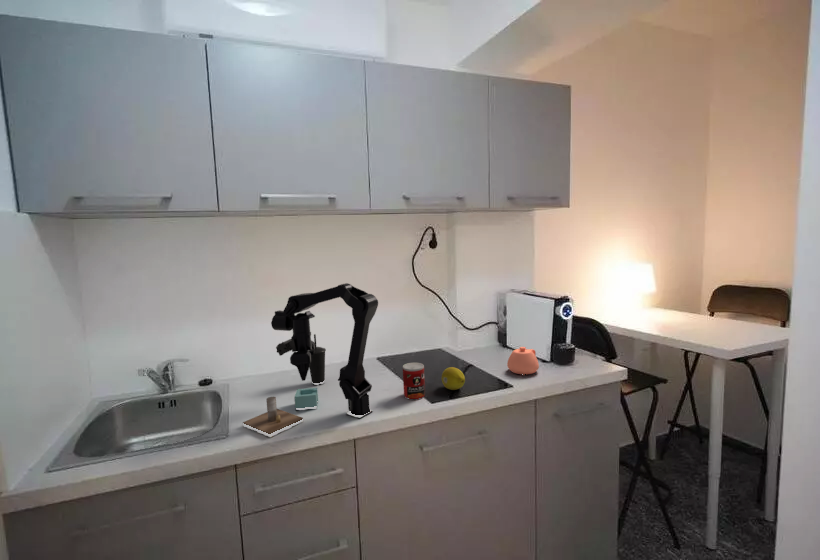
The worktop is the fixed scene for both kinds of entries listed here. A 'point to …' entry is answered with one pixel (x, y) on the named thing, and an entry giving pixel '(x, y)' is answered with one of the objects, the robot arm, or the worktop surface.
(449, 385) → the lemon
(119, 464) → the worktop surface
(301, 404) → the collar
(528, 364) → the orange teapot
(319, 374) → the drinking cup
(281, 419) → the board
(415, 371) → the canned food
